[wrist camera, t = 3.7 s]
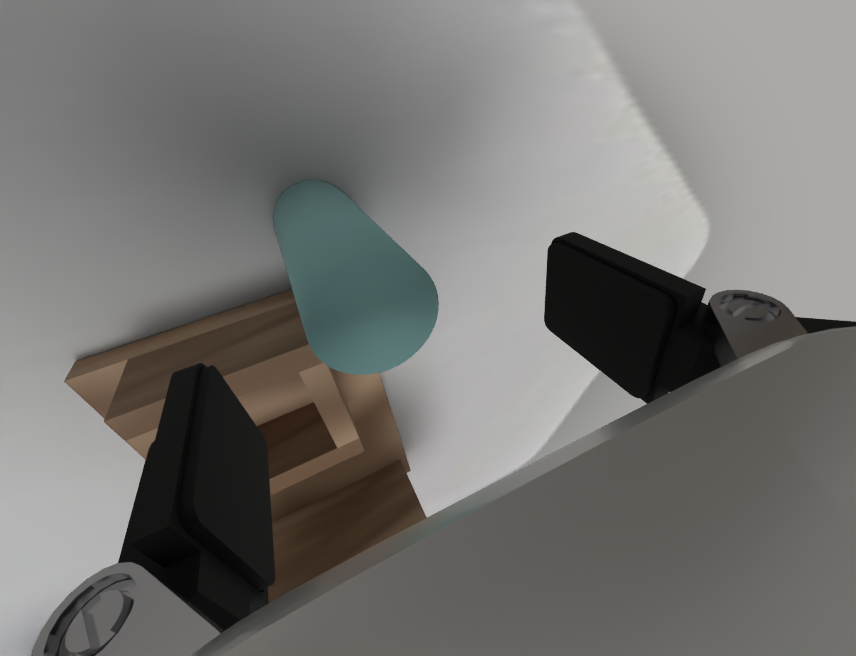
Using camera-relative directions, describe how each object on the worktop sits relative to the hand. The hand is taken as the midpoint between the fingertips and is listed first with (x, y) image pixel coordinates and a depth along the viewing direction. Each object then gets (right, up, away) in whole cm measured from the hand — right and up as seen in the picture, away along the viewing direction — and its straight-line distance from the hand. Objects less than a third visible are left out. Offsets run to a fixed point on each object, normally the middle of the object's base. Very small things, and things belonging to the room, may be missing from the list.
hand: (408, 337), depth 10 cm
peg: (-5, +6, +8) cm, 11 cm away
